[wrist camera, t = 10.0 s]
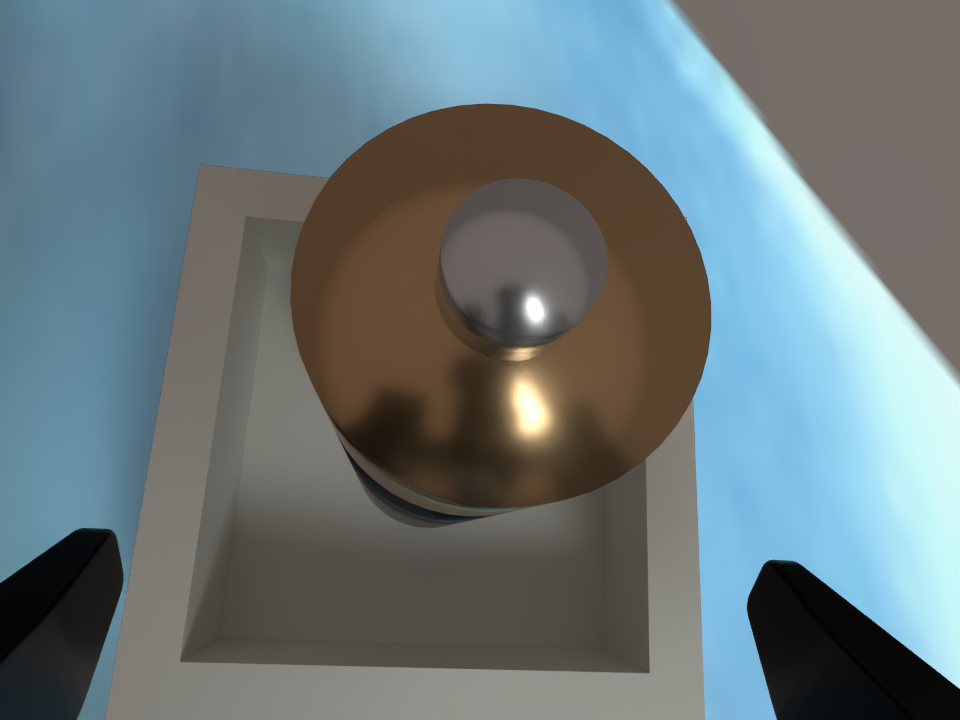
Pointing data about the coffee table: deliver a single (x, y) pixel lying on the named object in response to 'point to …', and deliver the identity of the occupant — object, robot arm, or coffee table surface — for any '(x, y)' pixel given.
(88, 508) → the coffee table surface
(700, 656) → the bin
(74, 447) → the coffee table surface
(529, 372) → the cell
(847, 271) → the coffee table surface
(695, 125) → the coffee table surface
